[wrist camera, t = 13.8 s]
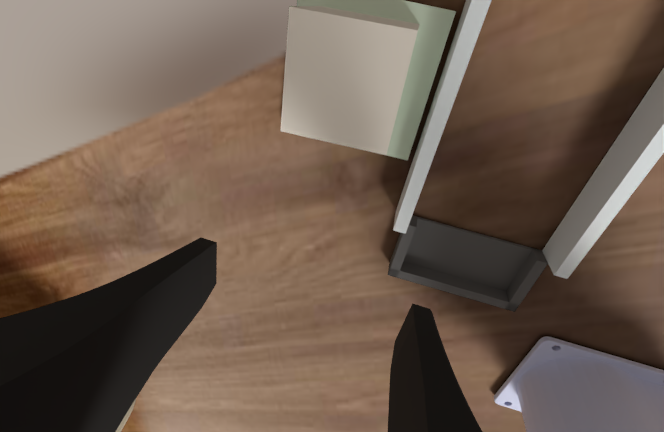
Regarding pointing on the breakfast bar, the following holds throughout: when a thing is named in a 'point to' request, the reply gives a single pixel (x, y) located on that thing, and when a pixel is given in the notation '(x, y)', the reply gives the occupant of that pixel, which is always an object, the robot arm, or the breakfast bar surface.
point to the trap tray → (466, 263)
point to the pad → (422, 65)
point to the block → (345, 76)
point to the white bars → (600, 191)
